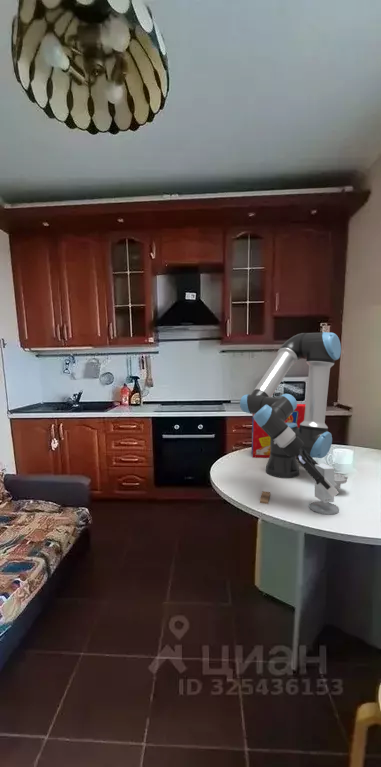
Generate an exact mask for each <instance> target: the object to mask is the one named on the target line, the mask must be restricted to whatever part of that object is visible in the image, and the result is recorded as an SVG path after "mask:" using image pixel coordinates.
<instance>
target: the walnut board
mask: <svg viewBox="0 0 381 767" xmlns="http://www.w3.org/2000/svg"><path fill="white" fill-rule="evenodd" d="M270 496H271V491H265V490H262V491H261V495H260V499H259V504H267V505H269V501H270Z"/></svg>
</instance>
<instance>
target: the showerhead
mask: <svg viewBox="0 0 381 767" xmlns="http://www.w3.org/2000/svg"><path fill="white" fill-rule="evenodd" d="M348 479H349V477H348V476H346V475H343V474H341V473H338V472H337V473H336V472H334V482H335V483H336V484H337V485H336V486H335V487H334V488H335V489H336V490H337V491H338V490H339V489H341V485H343V484H346V483H347V482H348Z"/></svg>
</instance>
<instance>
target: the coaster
mask: <svg viewBox="0 0 381 767" xmlns="http://www.w3.org/2000/svg"><path fill="white" fill-rule="evenodd" d="M308 508H309V509H310V510H311V511H312V512H314V513H317V514H321V515H328V516H329V515H332V516H333V515H336V514H338V513H340V512H339V511H340V508H339V506H337V505H336V504H334V503H333V502H328V503H324V502H322V501H321V500H317V501H316V500H315V501H311V502H309V507H308Z"/></svg>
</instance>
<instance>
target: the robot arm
mask: <svg viewBox="0 0 381 767" xmlns="http://www.w3.org/2000/svg"><path fill="white" fill-rule="evenodd" d="M341 354H342V345H341V341H340V338H339V337H338V335H337V334H336V333H334V332H326V331H323V332H322V331H321V332H301V333H297V334H296V335H295V334H294V335H293V336H292V337H290V338H289V339H287V340H286V341H285V342H284V343H283V344H282V345H281V346H280V348H279V349H278V350H277V352H276V358H274V360H273V362H271V365H270V366H269V368H268V369H267V370H266V372H264V375H263V376H262V378H261V379H260V381H259V382H258V383H257V384H256V387H255V388H254V389H253V391H252V392H251V393H250V394H249V393H248V394H244V395H242V396H241V398H240V401H239V408H240V409H241V411H242V412H244V413H246V414H251V415H252V414H255V415H254V416H253V418H254V420H255V421H256V422H257V424H258V425H259V426H260V427H261V428H262V429H263V430H264V431H265V432H266V433H267V434H268V435H269V436H270V437H271V440H270V457H269V458H268V460H267V462H266V463H267V464H266V466H265V473H267V474H268V475H270V476H272V477H276V478H283V479H284V478H288V479H291V478H296V477H298V476H299V475H300V471H301V470H300V469H301V468H300V466H301V467H303V469H304V470H305V471H306V472H307V473H308V474H309V475H310V476H311V477H312V479H313V480H314V482H315V481H316V482H317V483H316V484H317V485H318V484H320V485H321V486H322V487H323V488H324V489H325V490H326V491H327V492H328V493H329V494H330V495H331V496H332V497H334V498H335V497H336V496H337V495H338V494H340V493H339V491H338V489H337V490H336V489H335V488H334V487H335V486H336V485H337V484H336V483H335V482H334V487H333V486H332V484H331V483H330V482H329V481H328V480H327V479H326V478H324V477H323V476H322V475H321V473H320V472H319V471H318V470H317V469H316V467H315V464H319V463H318V462H317V461H316V460H315V459H314V458H316V459H323V458H326V456H327V455H328V453H330V450H331V447H332V444H333V437H332V436H333V435H332V433H331V432H329V431H328V429H329V427H328V425H327V424H326V423H325V421H326V413H327V412H326V411H327V404H328V403H327V402H328V401H327V400H328V395H329V394H328V392H329V383H330V382H329V381H330V372H331V368H332V367H333V366H334V365H335V361H337V360H339V359H340V357H341ZM302 359H304V360H306V361H305V363H306V364H307V365H308V376H307V377H308V378H307V386H306V396H305V397H306V398H305V404H306V405H305V415H304V421H303V422H302V423H300V428H299V427H297V424H296V423H285V422H284V421H285V420H286V419H287V418H288V417H289V416H290V415H291V414H292V413H293V412H294V410H295V409H296V407H297V404H298V402H297V400H296V398H295V397H294V395H292V394H289V393H283V394H281V395H280V396H278V397H273V395H274V394H275V392H276V390H277V389H278V387H279V385H280V384H281V382H282V381H283V380H284V378H285V377H286V375H287V373H288V371H290V369H291V367H292V366H293V365H296V364H297V362H298V361H300V360H302ZM296 457H297V458H296ZM299 465H300V466H299Z"/></svg>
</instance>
